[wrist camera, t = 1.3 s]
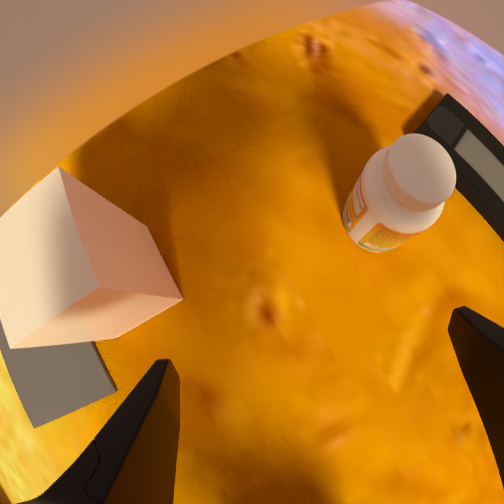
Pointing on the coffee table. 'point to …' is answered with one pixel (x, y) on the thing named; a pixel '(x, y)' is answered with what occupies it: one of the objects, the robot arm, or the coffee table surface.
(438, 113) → the vhs tape
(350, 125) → the coffee table surface
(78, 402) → the mat
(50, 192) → the white boxy piece
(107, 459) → the robot arm
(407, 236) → the supplement bottle
